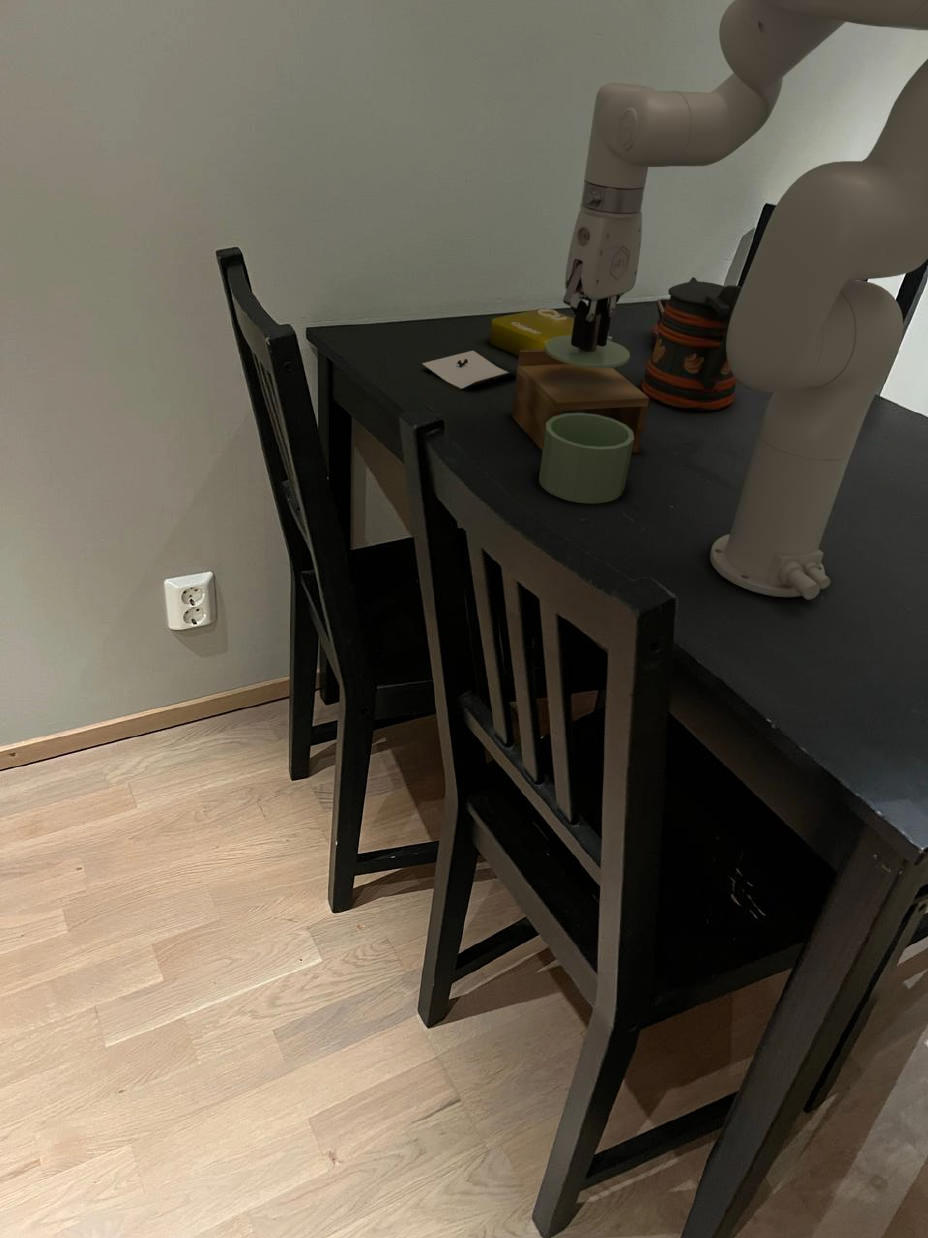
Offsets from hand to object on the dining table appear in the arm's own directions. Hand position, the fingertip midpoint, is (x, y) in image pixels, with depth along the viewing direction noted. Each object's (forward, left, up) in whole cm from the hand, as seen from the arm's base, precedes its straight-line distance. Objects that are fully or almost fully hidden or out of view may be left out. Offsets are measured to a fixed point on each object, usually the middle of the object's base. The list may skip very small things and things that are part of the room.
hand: (588, 344), depth 124 cm
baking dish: (+32, -37, -13) cm, 51 cm away
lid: (0, 0, -1) cm, 1 cm away
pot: (-15, +5, -13) cm, 20 cm away
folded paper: (+25, +7, -13) cm, 29 cm away
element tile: (+36, -10, -13) cm, 40 cm away
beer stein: (+10, -25, -13) cm, 30 cm away
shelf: (0, 0, -13) cm, 13 cm away
